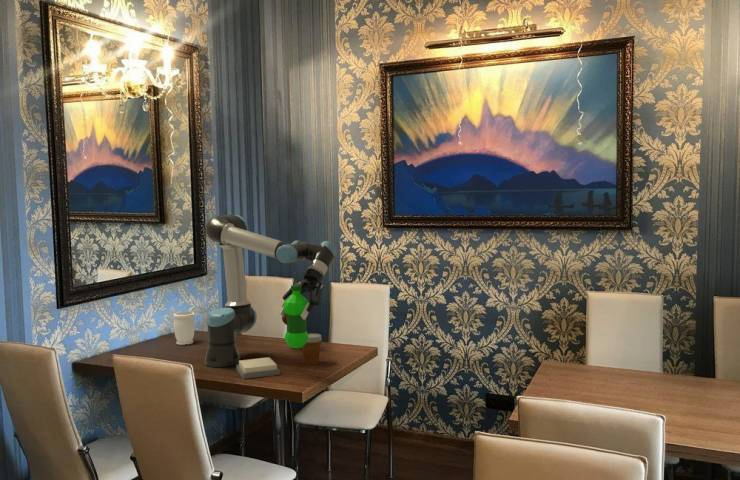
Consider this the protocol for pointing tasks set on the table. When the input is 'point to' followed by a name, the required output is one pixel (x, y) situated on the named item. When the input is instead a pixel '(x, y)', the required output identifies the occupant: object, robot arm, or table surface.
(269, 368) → the stepped plinth
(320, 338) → the disposable coffee cup
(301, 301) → the plastic bottle
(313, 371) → the table surface
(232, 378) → the table surface
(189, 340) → the jar
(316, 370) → the table surface
